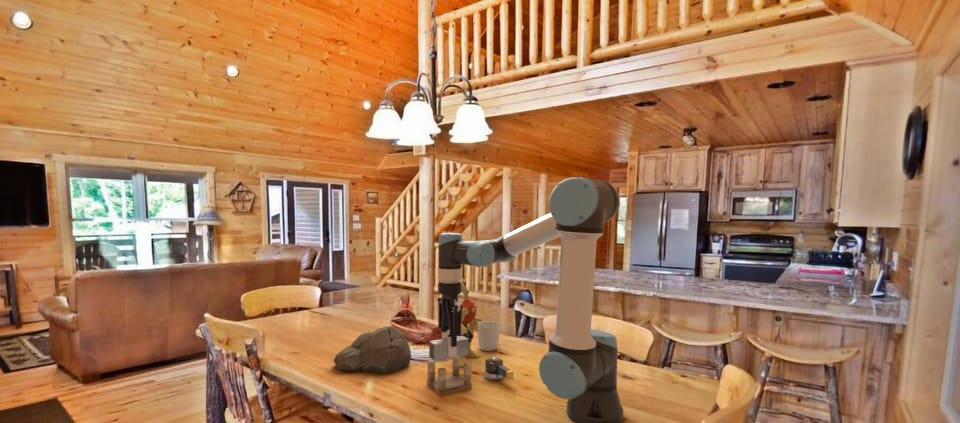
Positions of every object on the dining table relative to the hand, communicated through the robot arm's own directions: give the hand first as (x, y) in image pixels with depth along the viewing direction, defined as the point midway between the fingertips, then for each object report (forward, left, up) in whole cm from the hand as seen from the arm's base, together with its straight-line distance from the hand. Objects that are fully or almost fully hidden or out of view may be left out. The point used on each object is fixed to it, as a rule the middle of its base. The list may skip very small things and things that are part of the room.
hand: (449, 353), depth 134 cm
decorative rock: (+30, +15, -11) cm, 35 cm away
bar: (0, 0, -1) cm, 1 cm away
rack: (0, 0, -10) cm, 10 cm away
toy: (+15, -15, -11) cm, 23 cm away
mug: (+26, -32, -11) cm, 42 cm away
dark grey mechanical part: (-5, -17, -8) cm, 19 cm away
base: (-1, -17, -10) cm, 20 cm away
